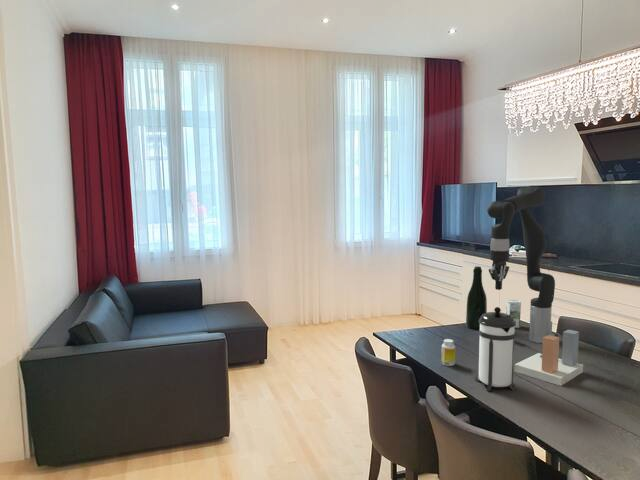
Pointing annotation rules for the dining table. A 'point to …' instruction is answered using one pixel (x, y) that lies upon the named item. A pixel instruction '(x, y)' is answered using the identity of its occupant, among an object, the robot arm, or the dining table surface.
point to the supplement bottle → (448, 353)
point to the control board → (559, 377)
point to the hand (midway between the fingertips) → (498, 289)
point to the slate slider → (570, 347)
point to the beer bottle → (476, 300)
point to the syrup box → (514, 311)
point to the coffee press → (496, 349)
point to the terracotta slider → (550, 353)
